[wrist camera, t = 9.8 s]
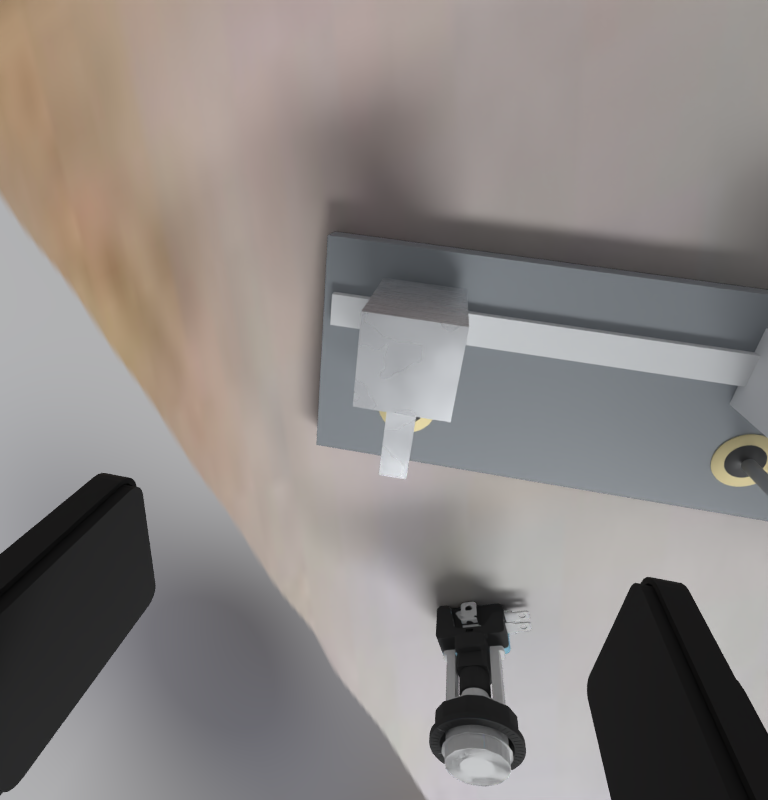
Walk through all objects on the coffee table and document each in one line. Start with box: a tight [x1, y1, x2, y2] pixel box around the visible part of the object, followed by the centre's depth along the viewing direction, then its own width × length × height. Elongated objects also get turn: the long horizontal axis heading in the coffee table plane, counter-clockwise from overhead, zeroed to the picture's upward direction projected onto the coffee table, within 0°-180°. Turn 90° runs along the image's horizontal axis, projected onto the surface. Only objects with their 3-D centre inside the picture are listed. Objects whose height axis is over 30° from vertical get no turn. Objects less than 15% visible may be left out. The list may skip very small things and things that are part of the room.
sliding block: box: [353, 278, 469, 479], centre depth 22 cm, size 4×7×6 cm, turn 174°
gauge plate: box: [317, 232, 768, 521], centre depth 23 cm, size 28×12×8 cm, turn 84°
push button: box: [429, 602, 532, 786], centre depth 30 cm, size 7×5×10 cm
